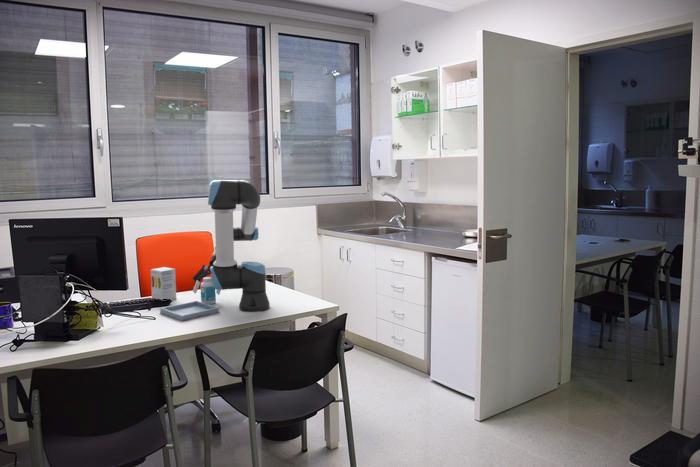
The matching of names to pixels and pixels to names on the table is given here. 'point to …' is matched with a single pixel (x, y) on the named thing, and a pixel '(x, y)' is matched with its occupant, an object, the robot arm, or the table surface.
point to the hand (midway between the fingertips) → (205, 292)
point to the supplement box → (163, 283)
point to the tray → (189, 310)
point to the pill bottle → (207, 291)
